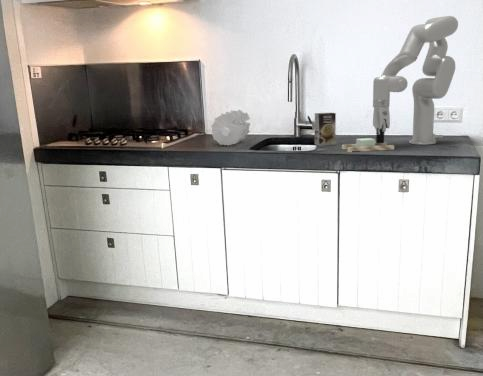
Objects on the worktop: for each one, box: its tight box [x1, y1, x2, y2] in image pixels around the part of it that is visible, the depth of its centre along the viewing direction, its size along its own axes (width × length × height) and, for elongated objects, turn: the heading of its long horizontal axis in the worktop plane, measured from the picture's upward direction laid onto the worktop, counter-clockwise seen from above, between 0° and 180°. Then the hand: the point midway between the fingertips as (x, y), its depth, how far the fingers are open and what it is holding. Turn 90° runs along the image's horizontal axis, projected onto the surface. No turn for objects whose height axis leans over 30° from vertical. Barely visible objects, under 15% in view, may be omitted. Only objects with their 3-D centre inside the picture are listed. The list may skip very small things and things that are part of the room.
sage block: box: [355, 137, 376, 147], centre depth 242 cm, size 7×6×5 cm
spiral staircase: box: [210, 109, 251, 146], centre depth 276 cm, size 18×18×25 cm
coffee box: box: [314, 112, 337, 147], centre depth 259 cm, size 9×6×16 cm
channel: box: [341, 141, 395, 153], centre depth 242 cm, size 22×10×2 cm, turn 96°
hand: (380, 142), depth 242 cm, fingers closed
